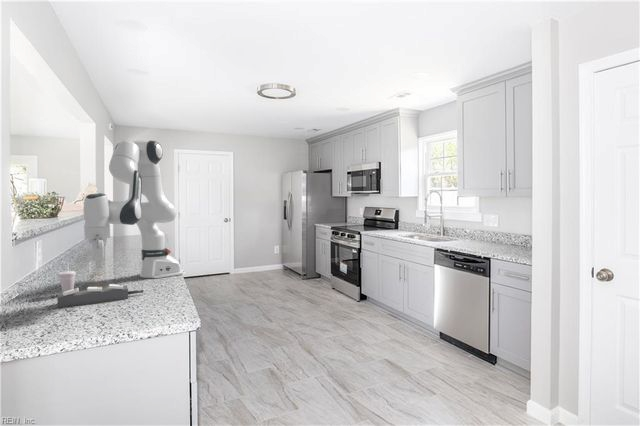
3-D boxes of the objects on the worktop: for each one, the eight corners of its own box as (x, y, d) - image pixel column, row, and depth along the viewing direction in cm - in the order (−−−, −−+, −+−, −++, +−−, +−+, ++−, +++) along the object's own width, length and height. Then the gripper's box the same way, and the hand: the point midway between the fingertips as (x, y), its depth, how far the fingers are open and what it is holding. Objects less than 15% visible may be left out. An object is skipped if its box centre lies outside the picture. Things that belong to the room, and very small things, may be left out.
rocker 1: (78, 289, 147) (78, 287, 147) (78, 291, 144) (77, 289, 144) (64, 294, 144) (63, 291, 144) (63, 296, 142) (62, 293, 141)
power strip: (142, 292, 162) (142, 283, 162) (144, 296, 156) (143, 286, 156) (59, 303, 146) (59, 292, 146) (57, 307, 140) (57, 297, 140)
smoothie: (67, 296, 155) (66, 264, 155) (55, 296, 157) (53, 263, 156) (80, 292, 162) (79, 261, 161) (68, 292, 163) (66, 260, 162)
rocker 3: (122, 287, 155) (122, 284, 155) (122, 289, 152) (123, 286, 152) (108, 286, 152) (109, 283, 152) (108, 288, 149) (109, 285, 149)
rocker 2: (101, 289, 151) (101, 286, 151) (101, 291, 148) (102, 288, 148) (87, 289, 148) (87, 286, 148) (87, 291, 146) (87, 288, 146)
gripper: (106, 236, 141) (108, 271, 141) (106, 231, 158) (107, 262, 159) (87, 237, 137) (89, 273, 138) (88, 231, 155) (90, 264, 156)
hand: (98, 267), depth 149 cm, fingers closed
